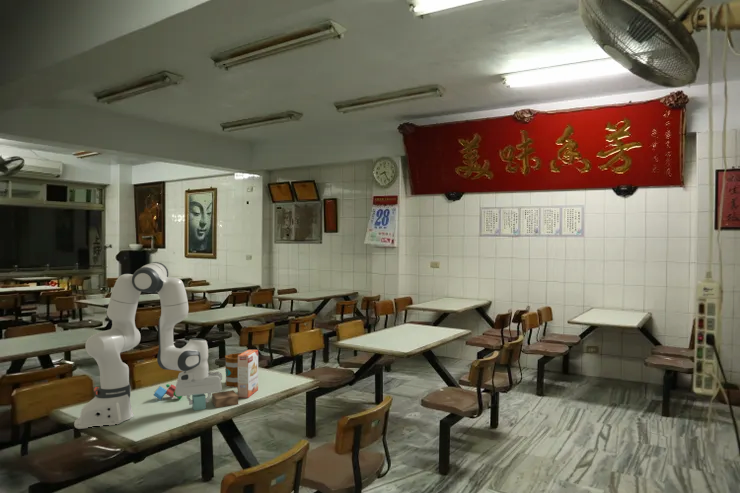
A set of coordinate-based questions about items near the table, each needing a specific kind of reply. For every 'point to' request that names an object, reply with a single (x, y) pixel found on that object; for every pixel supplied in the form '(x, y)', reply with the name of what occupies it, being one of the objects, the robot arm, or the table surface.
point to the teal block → (199, 402)
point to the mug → (232, 370)
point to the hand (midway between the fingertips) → (198, 403)
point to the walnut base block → (224, 398)
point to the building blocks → (166, 392)
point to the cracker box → (247, 373)
